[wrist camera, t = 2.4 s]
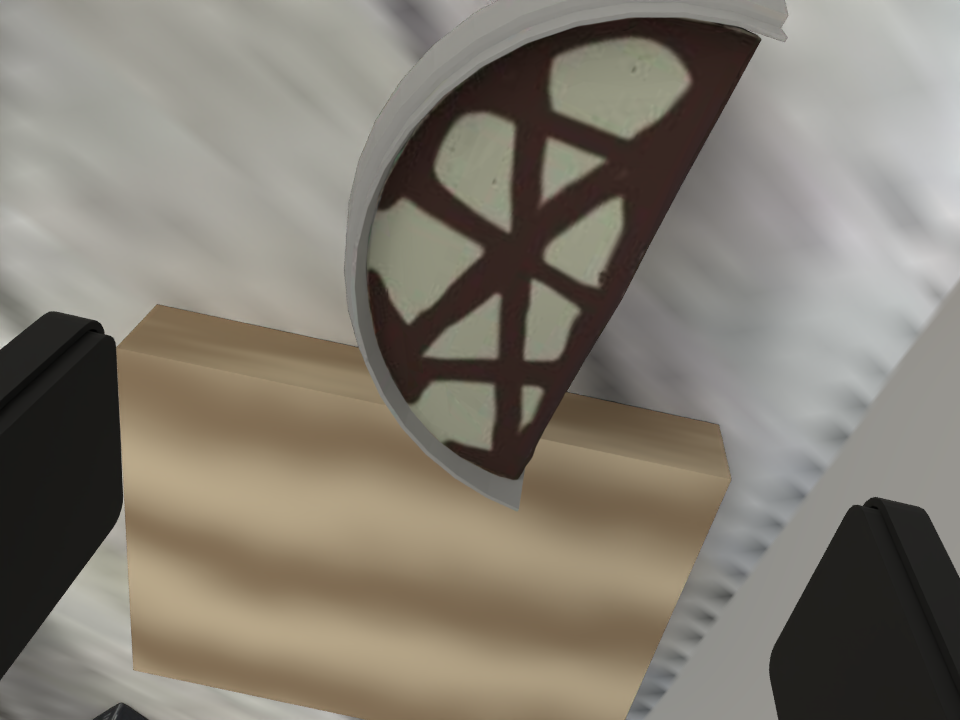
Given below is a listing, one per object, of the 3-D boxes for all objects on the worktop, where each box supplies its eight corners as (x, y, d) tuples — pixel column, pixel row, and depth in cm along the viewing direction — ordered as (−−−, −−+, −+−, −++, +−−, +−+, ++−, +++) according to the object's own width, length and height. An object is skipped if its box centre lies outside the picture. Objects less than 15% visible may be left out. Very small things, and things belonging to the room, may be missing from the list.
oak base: (157, 304, 29) (116, 347, 27) (719, 425, 30) (731, 479, 27) (163, 614, 38) (133, 670, 35) (601, 707, 38) (602, 769, 35)
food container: (502, -159, 21) (447, -163, 13) (721, -57, 22) (807, 5, 13) (358, 253, 28) (258, 433, 19) (532, 323, 28) (509, 527, 20)
